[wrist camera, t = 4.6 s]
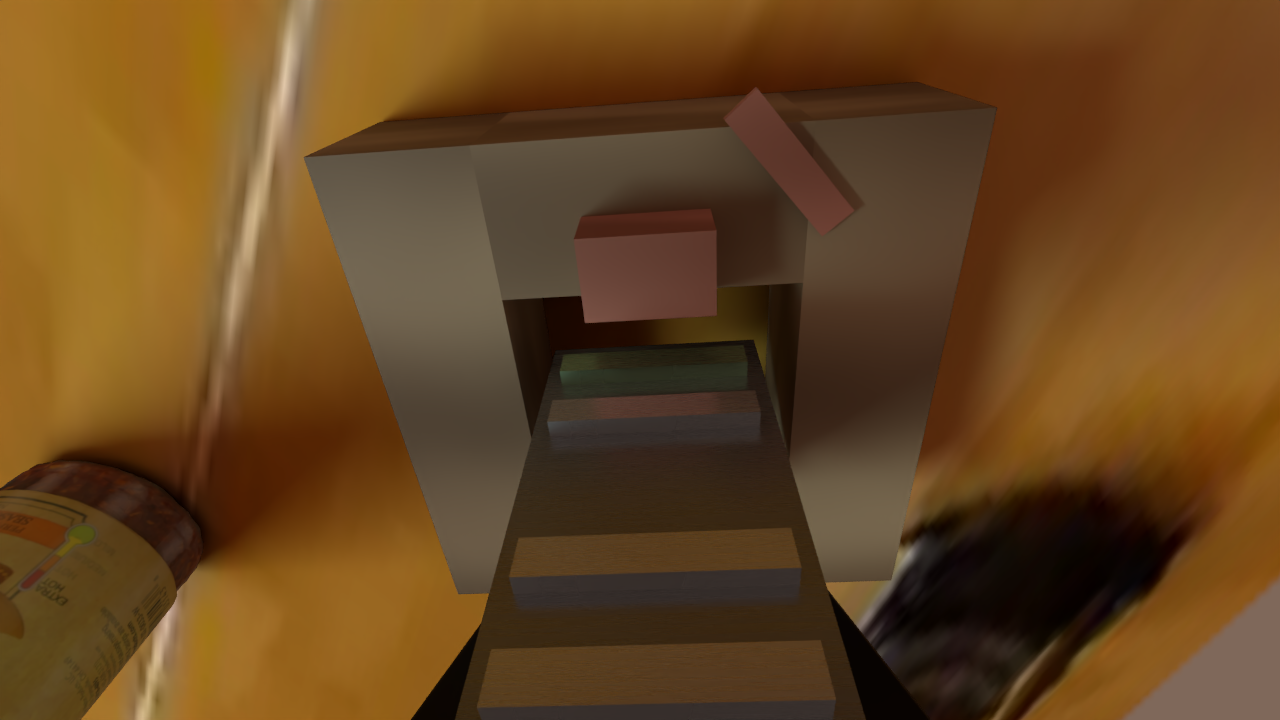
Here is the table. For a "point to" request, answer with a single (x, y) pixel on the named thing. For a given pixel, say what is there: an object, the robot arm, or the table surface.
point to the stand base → (665, 278)
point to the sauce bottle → (82, 581)
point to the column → (658, 554)
